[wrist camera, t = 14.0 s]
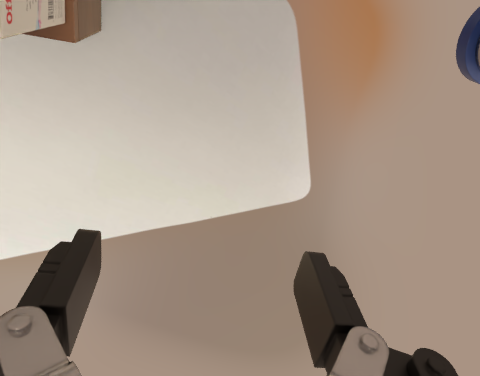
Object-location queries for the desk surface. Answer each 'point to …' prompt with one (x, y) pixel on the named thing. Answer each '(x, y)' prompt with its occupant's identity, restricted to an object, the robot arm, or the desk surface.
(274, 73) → the desk surface
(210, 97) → the desk surface
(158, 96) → the desk surface
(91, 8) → the shelf
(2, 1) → the ink box
